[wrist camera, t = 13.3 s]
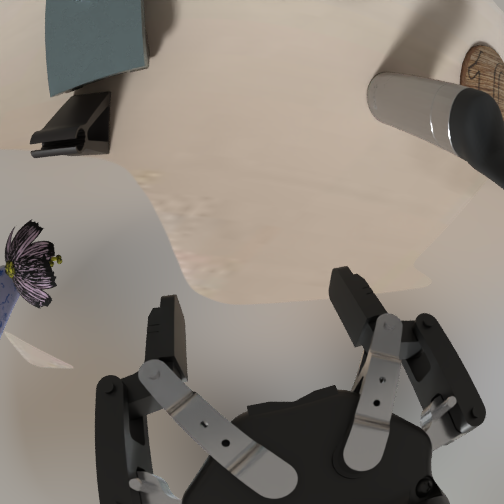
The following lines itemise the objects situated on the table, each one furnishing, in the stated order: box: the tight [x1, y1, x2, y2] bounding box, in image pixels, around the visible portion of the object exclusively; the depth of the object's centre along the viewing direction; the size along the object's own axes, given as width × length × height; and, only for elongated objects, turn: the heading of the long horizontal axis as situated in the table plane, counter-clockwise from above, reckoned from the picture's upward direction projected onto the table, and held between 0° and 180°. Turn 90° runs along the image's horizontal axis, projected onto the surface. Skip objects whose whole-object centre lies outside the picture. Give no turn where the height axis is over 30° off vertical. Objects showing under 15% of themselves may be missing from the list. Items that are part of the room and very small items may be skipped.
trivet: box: [460, 45, 504, 121], centre depth 34 cm, size 25×25×2 cm
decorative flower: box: [5, 220, 62, 308], centre depth 34 cm, size 14×12×15 cm
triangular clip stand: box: [30, 92, 111, 158], centre depth 25 cm, size 9×6×12 cm, turn 171°
